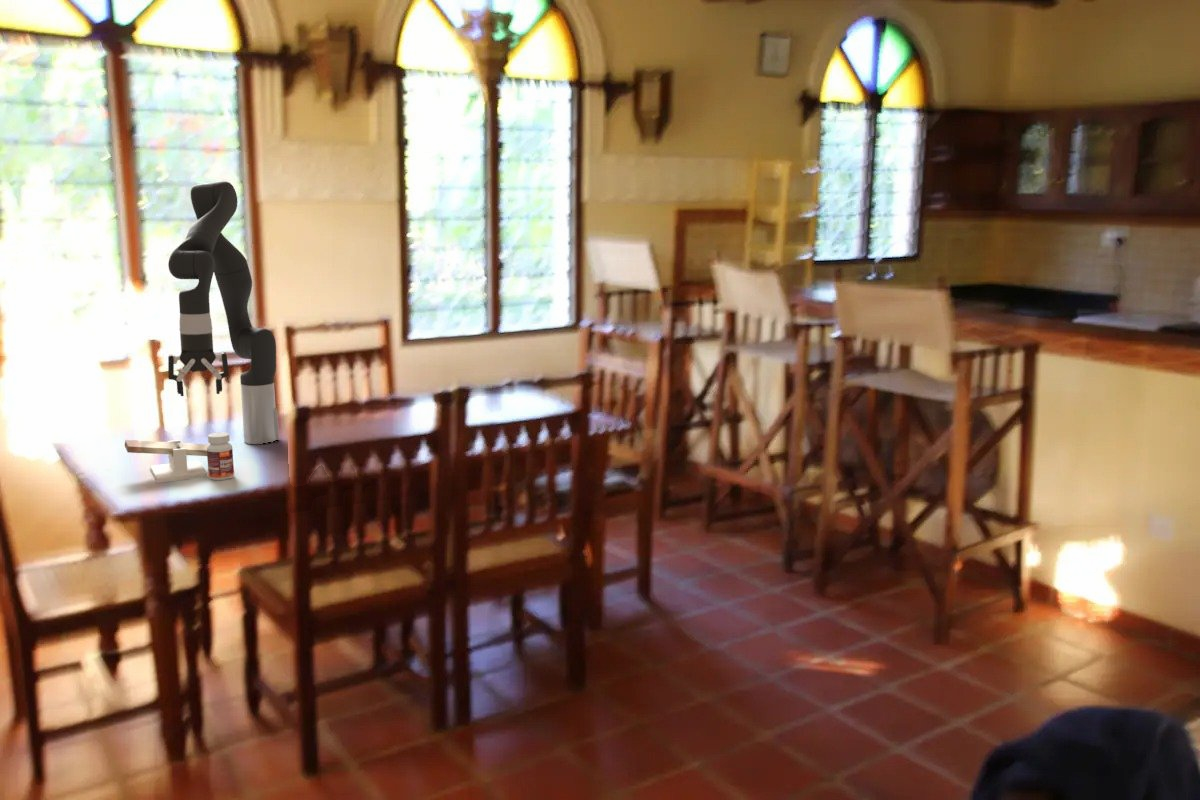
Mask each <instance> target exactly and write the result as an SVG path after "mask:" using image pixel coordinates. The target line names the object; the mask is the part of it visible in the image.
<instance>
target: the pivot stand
mask: <svg viewBox="0 0 1200 800" xmlns="http://www.w3.org/2000/svg"><path fill="white" fill-rule="evenodd" d="M167 442H172V443H173V442H177V443H181V439H175V440H167ZM187 460H188V457H187V455H186V448H180V449H173V455H172V454H168V462H169V463H164V464H153V465H150V466H149V467H150V468H149V469H150V471H151V473H152V475H153V478H154V479H155V481H156V482H157V483H165V482H166V483H167V482H174V481H181V480H182V481H183V480H190V479H189V478H191V479H199V477H200V478H205V477H208V478H209V474H208V472H207V470H206V469H205V467H204V466H203V464H202V463H201V462H200V460H199V459H196V460H189V461H187Z"/></svg>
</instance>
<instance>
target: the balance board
mask: <svg viewBox="0 0 1200 800" xmlns="http://www.w3.org/2000/svg"><path fill="white" fill-rule="evenodd" d="M209 444H210V443H207V444H204V443H188V442H180V443H177V442H173V443H172V442H168V441H153V440H151V441H150V440H136V439H135V440H134V439H125V440H124V447H125V450H126V452H127V453H128V454H129V453H131V454H133V453H134V454H135V453H136V454H157V455H169V454H172V455H173V449H180V448H186V456H194V457H207V446H208V445H209Z"/></svg>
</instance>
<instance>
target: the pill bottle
mask: <svg viewBox="0 0 1200 800" xmlns="http://www.w3.org/2000/svg"><path fill="white" fill-rule="evenodd" d="M230 441H231V439H230V433H229V432H225V431H224V432H223V431H222V432H213V433H209V434H208V435H207V442H208V444H209V445H208V446H207V456H206V459H207V468H208V472H207V474H208V478H209V479H210V480H213V481H225V480H230V479H232V478H233V477H234V476H235V470H234V469H235V468H234V457H233V456H234V455H233V453H234V452H233V450H234V449H233V445H232V444H231V442H230Z"/></svg>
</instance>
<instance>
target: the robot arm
mask: <svg viewBox="0 0 1200 800" xmlns="http://www.w3.org/2000/svg"><path fill="white" fill-rule="evenodd" d="M190 200H191V205H192V208H193V211H194V214H195V217H196V219H197V220H196V221H195V222H194V223H193V224H192V225H191V227H190V228H189V230H188V232H187V235H186V238H185V240H184V241H182V242H181V243H180V244H179V245H178V246H177V247H176V248H174V250H173V251H172V252H171V254H170V256H169V259H168V264H167V265H168V271H169V273H170V275H172V276H173V277H174V278H175V279H177V280H198V283H197V285H196V286H195V287H190V288H186V289H182V290H181V291H180V292H179V294H178V302H179V335H180V336H179V337H180V351H181V352H180V355H174V354H169V355H168V356H167V357H168V358H167V359H168V363H167V365H168V369H167V370H168V371H167V372H168V373H167V374H168V375H167V376H168V379H169V380H170V381H171V380H172V381H175V382H176V392H177V394H178V395H180V397H184V383H183V379H184V378H185V376H186V375H187V374H188V373H189V372H192V373H195V372H206V371H209V372H210V373H211V374H212V375H213V376H214V377H215V391H216V392H215V393H216V394H217V395H220V393H221V392H223V379H224V378H226V377H229V376H230V371H229V364H228V356H227V353H226V352H225V351H222V352H221V353H215V352H214V340H213V324H212V323H213V322H212V317H211V308H210V291H211V284H212V279H213V276H214V277H215V281H216V285H217V287H218V289H219V292H220V297H221V300H222V304H223V305H222V306H223V308H224V312H225V315H226V321H227V322H226V323H227V326H228V334H229V338H230V344H231V346H232V347H231V348H232V349H233V352H234V353H235V354H236V356H237V357H238V358H241V359H245V360H250V367H249V369H248V370H247V371H244V372H242V373H241V374H240V375H239V376H240V377H239V380H240V393H241V395H240V396H241V409H242V411H241V412H242V424H243V425H242V426H243V441H244V443H246V444H248V445H249V444H250V445H264V444H263V443H266V444H269V443H268V442H271V443H273V442H272V441H274V440H279V441H280V431H279V417H278V416H279V414H278V412H279V411H278V409H277V407H276V394H275V393H276V392H275V375H276V371H277V343H276V338H275V336H274V334H273V332H272V331H271V330H270V329H267V328H263V327H262V328H261V327H253V325H252V323H251V319H250V316H249V312H248V310H249V309H248V303H249V300H250V296H251V292H252V287H253V279H252V275H251V271H250V268H249V263H248V261H247V258H246V257H245V256H244V254H243V253H242V252H241V251H240V250H239V249H238V248H237V247H236V246H235V245H234V244H232V243H231V242H230V240H228V239H227V238H226V236H225V235H224V234H223V233H222V231H223V230H224V229H225V227H226V226H227V225H228V223H229V221H230V220H231V219H232V217H234V215H235V213H236V211H237V208H238V196H237V191H236V189H235V187H234V186H233V184H232V183H231V182H228V181H221V180H220V181H213V182H206V183H198V184H194V185H192V187H191V189H190ZM216 359H218V361H219V362H220V363H221V364H222V372H219V371H218V370H217V368H216V367H215V366H214V365H213V363H214V361H215V360H216ZM178 361H180V362H181V363H182V365H183V367H182V368H181V370H180V371H179V372H178V374H175V372H174V370H175V369H174V368H175V365H177V363H178Z"/></svg>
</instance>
